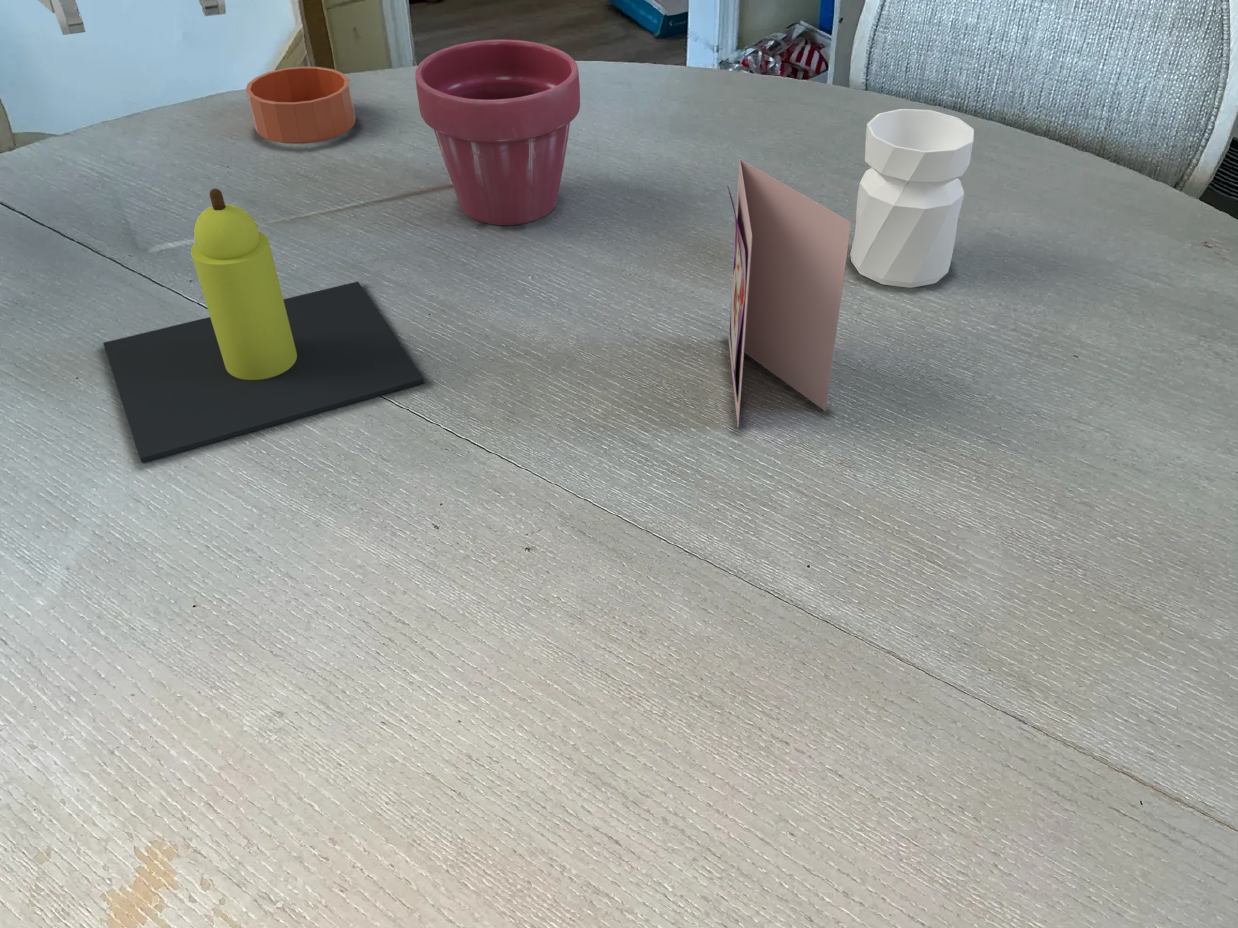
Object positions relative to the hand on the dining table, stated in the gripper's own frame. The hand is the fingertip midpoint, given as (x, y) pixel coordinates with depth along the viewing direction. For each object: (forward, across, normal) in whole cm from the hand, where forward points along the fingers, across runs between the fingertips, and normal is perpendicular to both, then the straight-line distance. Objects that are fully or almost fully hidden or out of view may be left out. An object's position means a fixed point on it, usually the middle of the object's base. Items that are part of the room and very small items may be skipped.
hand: (146, 20), depth 77 cm
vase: (+31, +53, -1) cm, 62 cm away
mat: (+24, 0, +6) cm, 25 cm away
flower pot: (+13, +27, +18) cm, 35 cm away
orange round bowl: (-6, +15, +36) cm, 40 cm away
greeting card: (+38, +33, -8) cm, 51 cm away
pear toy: (+24, 0, +6) cm, 25 cm away
